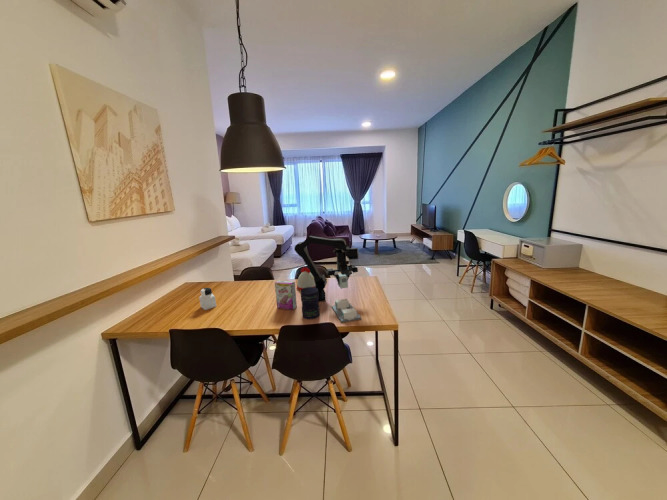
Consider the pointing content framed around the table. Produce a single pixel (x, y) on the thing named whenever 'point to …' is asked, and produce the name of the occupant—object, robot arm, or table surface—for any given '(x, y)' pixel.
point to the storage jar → (310, 303)
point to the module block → (343, 281)
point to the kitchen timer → (305, 279)
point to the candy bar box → (285, 294)
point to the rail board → (339, 313)
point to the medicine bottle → (207, 299)
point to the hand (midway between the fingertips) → (342, 283)
